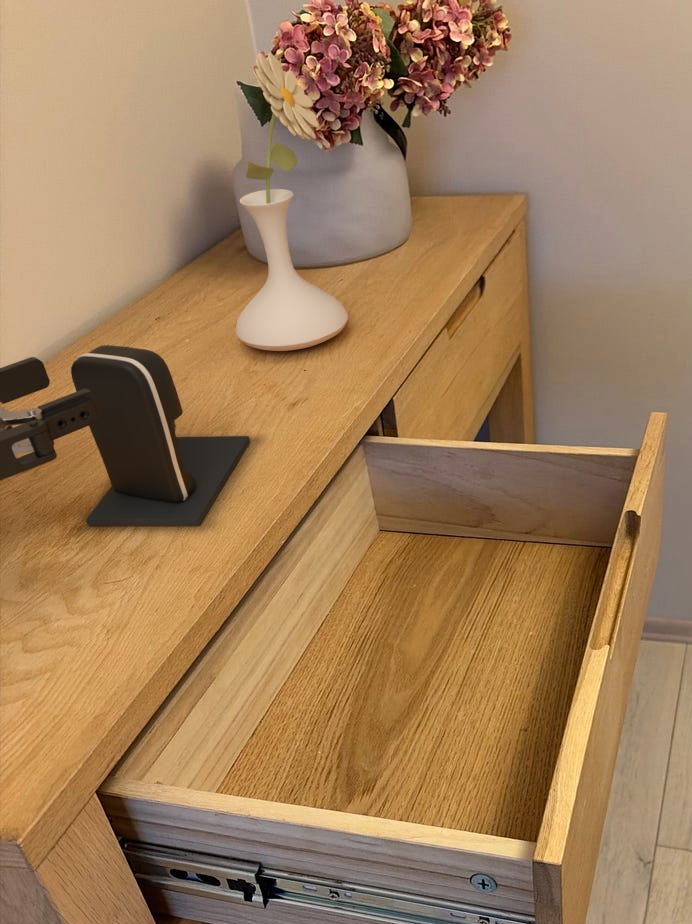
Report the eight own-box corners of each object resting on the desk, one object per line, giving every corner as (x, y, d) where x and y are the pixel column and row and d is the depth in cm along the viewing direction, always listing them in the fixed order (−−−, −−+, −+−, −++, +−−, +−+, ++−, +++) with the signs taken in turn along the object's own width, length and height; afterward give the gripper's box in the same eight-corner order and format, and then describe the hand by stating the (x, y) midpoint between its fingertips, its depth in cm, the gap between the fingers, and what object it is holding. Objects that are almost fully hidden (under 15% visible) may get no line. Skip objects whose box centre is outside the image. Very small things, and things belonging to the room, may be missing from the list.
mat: (88, 526, 75) (85, 519, 75) (150, 443, 85) (148, 437, 85) (199, 526, 74) (197, 519, 74) (250, 441, 84) (248, 435, 83)
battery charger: (211, 483, 78) (171, 344, 70) (182, 507, 75) (137, 366, 68) (141, 470, 80) (95, 335, 73) (110, 494, 77) (60, 356, 70)
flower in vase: (302, 369, 94) (242, 75, 79) (216, 351, 100) (143, 71, 84) (382, 320, 103) (342, 44, 87) (298, 305, 108) (246, 42, 92)
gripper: (-169, 460, 54) (98, 360, 62) (-235, 391, 63) (8, 311, 71) (-107, 570, 59) (134, 464, 67) (-176, 492, 68) (46, 406, 76)
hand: (69, 386), depth 69 cm, fingers open, 8 cm apart
